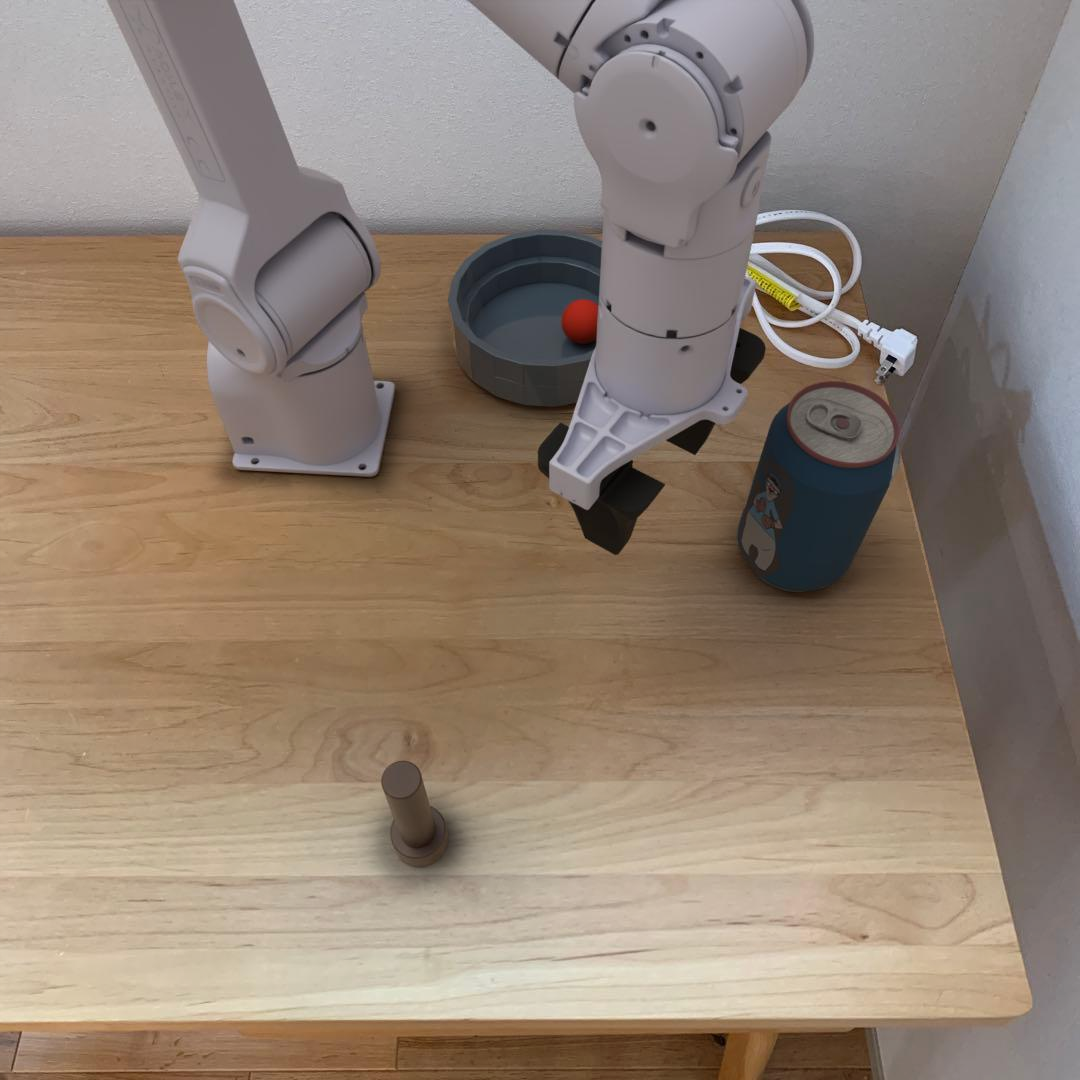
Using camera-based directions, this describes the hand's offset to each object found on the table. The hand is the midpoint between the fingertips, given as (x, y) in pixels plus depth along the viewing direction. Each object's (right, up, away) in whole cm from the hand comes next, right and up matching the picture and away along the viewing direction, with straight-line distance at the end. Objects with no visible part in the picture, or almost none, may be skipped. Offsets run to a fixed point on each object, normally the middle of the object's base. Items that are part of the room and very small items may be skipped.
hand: (644, 490), depth 53 cm
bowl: (-5, +11, +20) cm, 24 cm away
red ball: (-2, +13, +18) cm, 22 cm away
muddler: (-12, -18, 0) cm, 21 cm away
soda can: (+10, -4, +10) cm, 14 cm away
